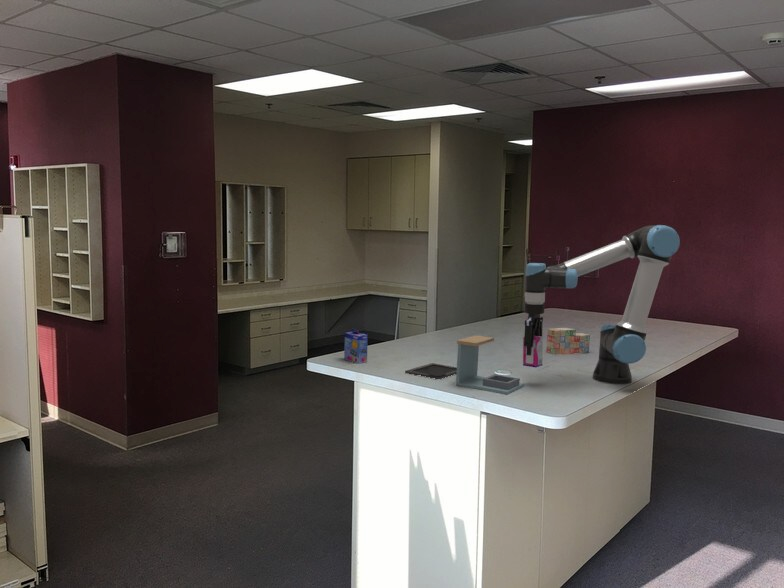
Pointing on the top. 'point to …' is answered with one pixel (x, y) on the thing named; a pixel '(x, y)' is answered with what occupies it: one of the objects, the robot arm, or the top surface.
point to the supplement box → (537, 352)
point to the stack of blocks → (567, 341)
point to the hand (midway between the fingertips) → (532, 361)
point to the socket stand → (469, 367)
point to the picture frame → (433, 371)
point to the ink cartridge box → (355, 346)
